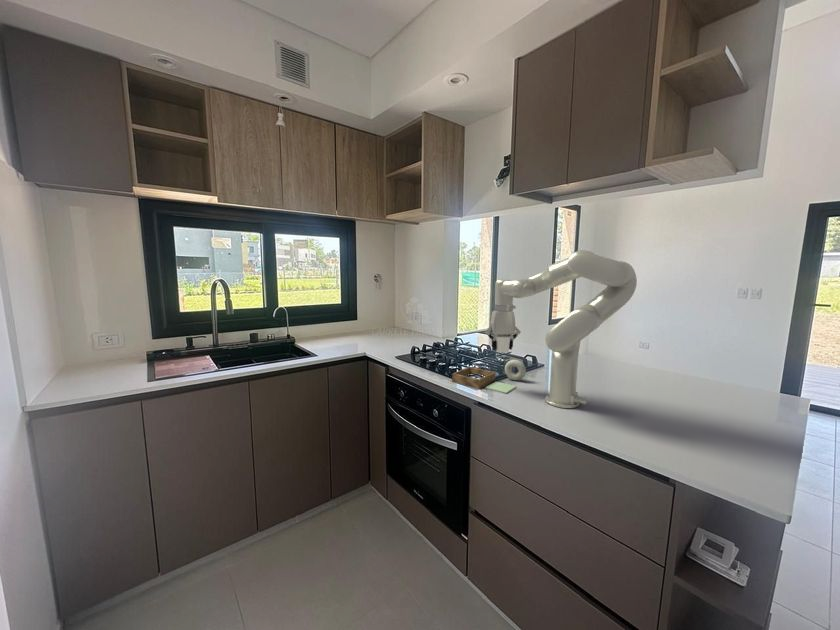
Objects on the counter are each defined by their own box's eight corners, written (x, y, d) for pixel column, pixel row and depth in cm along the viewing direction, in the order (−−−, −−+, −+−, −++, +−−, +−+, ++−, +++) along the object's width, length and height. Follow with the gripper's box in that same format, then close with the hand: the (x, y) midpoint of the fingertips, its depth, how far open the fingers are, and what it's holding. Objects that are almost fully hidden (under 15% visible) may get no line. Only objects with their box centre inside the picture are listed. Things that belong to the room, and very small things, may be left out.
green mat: (516, 387, 151) (516, 386, 151) (506, 393, 143) (506, 392, 143) (496, 382, 157) (496, 381, 157) (485, 388, 150) (485, 387, 149)
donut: (526, 380, 159) (527, 360, 158) (524, 383, 156) (525, 362, 155) (505, 377, 165) (506, 357, 163) (503, 379, 162) (503, 359, 160)
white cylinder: (498, 348, 152) (498, 333, 152) (512, 350, 148) (513, 335, 147) (491, 351, 147) (491, 335, 146) (505, 354, 143) (506, 337, 142)
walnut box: (495, 380, 160) (495, 372, 159) (479, 389, 149) (479, 380, 148) (468, 374, 169) (469, 366, 169) (452, 381, 158) (452, 373, 158)
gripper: (519, 307, 149) (518, 346, 152) (481, 307, 148) (480, 347, 151) (526, 309, 142) (524, 350, 145) (486, 309, 141) (485, 351, 143)
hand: (502, 348), depth 148 cm, fingers closed on white cylinder, 6 cm apart
